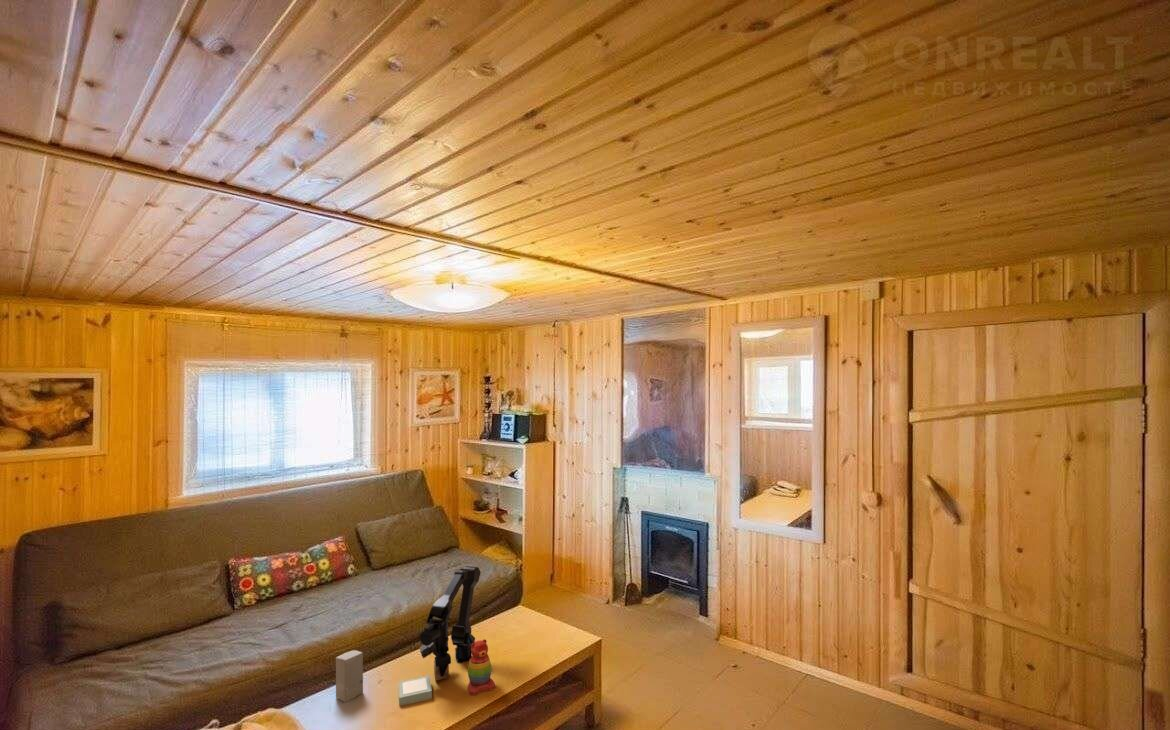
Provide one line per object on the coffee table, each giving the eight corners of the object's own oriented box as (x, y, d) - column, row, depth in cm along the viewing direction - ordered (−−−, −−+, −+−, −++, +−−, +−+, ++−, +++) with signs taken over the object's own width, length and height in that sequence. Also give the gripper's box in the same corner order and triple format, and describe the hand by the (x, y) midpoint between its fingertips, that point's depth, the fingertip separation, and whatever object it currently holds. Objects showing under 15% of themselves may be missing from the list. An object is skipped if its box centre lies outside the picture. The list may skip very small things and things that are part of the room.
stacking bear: (470, 696, 206) (469, 650, 207) (463, 684, 215) (463, 639, 216) (497, 688, 211) (496, 643, 212) (489, 677, 220) (488, 633, 221)
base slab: (429, 683, 217) (429, 675, 217) (431, 698, 205) (431, 690, 205) (398, 689, 212) (398, 681, 212) (399, 705, 201) (399, 697, 201)
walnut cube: (447, 671, 224) (447, 657, 224) (448, 677, 219) (448, 664, 219) (434, 674, 222) (433, 660, 222) (435, 680, 217) (435, 666, 217)
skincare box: (345, 703, 204) (345, 661, 205) (334, 698, 208) (334, 657, 208) (364, 692, 211) (364, 652, 212) (353, 687, 215) (353, 647, 216)
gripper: (419, 629, 227) (420, 666, 226) (422, 648, 209) (422, 688, 209) (446, 624, 231) (446, 660, 230) (450, 642, 213) (451, 682, 213)
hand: (441, 672), depth 220 cm, fingers closed on walnut cube, 5 cm apart
